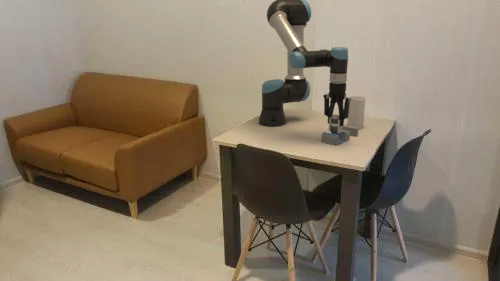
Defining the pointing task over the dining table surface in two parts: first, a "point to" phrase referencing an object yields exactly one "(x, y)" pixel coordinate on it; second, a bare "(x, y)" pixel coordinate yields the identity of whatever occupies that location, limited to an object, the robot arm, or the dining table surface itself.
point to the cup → (356, 112)
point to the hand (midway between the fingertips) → (335, 131)
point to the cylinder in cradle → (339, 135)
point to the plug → (334, 123)
